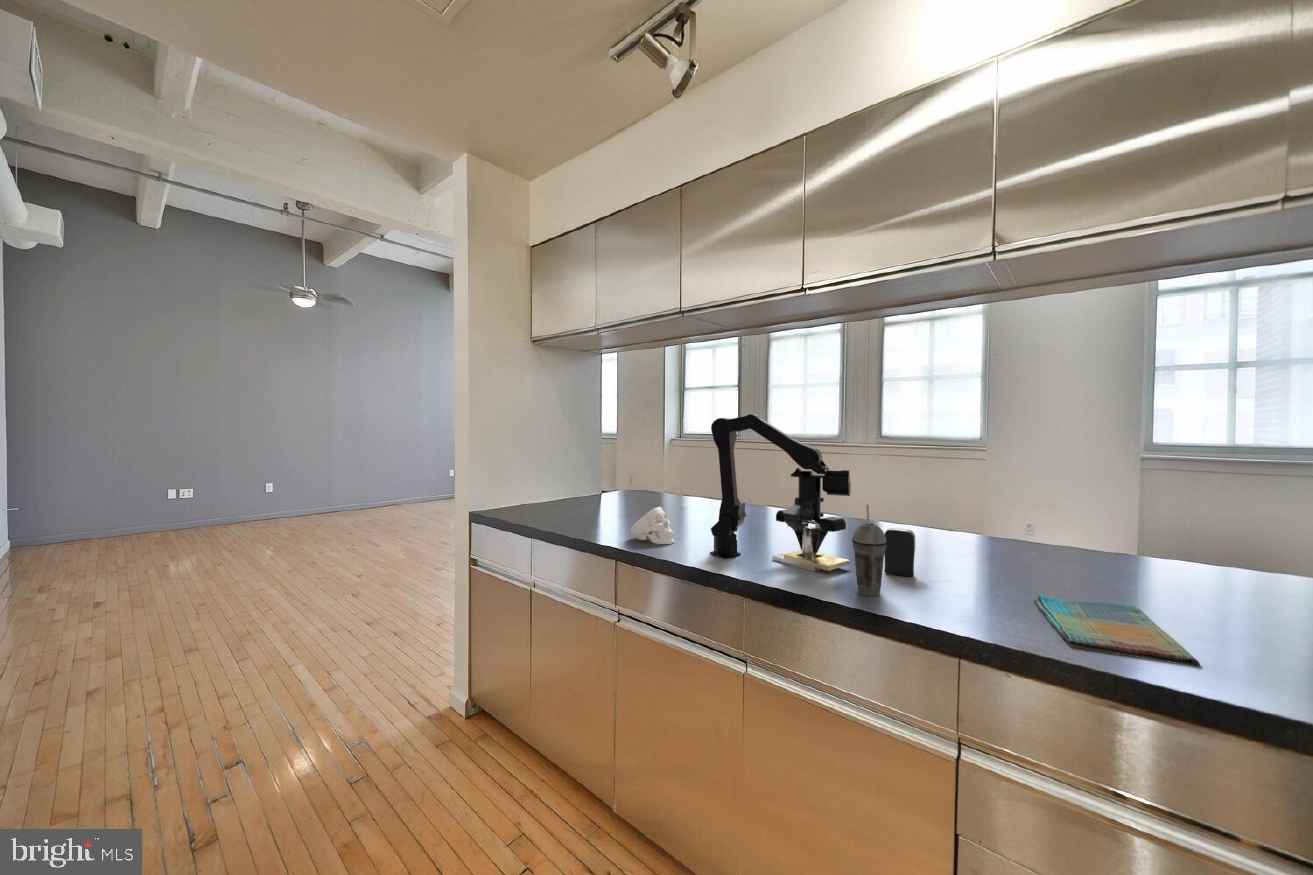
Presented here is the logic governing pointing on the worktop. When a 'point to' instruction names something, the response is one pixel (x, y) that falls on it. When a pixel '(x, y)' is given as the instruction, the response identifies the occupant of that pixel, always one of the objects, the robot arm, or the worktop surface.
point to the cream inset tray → (811, 561)
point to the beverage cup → (869, 557)
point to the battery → (900, 552)
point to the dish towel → (1112, 629)
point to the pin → (807, 543)
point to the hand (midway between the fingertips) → (809, 551)
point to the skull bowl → (653, 527)
